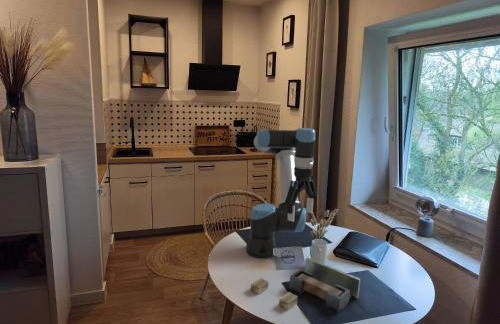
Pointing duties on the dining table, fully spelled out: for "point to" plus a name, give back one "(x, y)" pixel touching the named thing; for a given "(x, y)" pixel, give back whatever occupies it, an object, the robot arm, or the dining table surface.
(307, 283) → the rail
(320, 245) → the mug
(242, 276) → the dining table surface
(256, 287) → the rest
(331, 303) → the bracket
